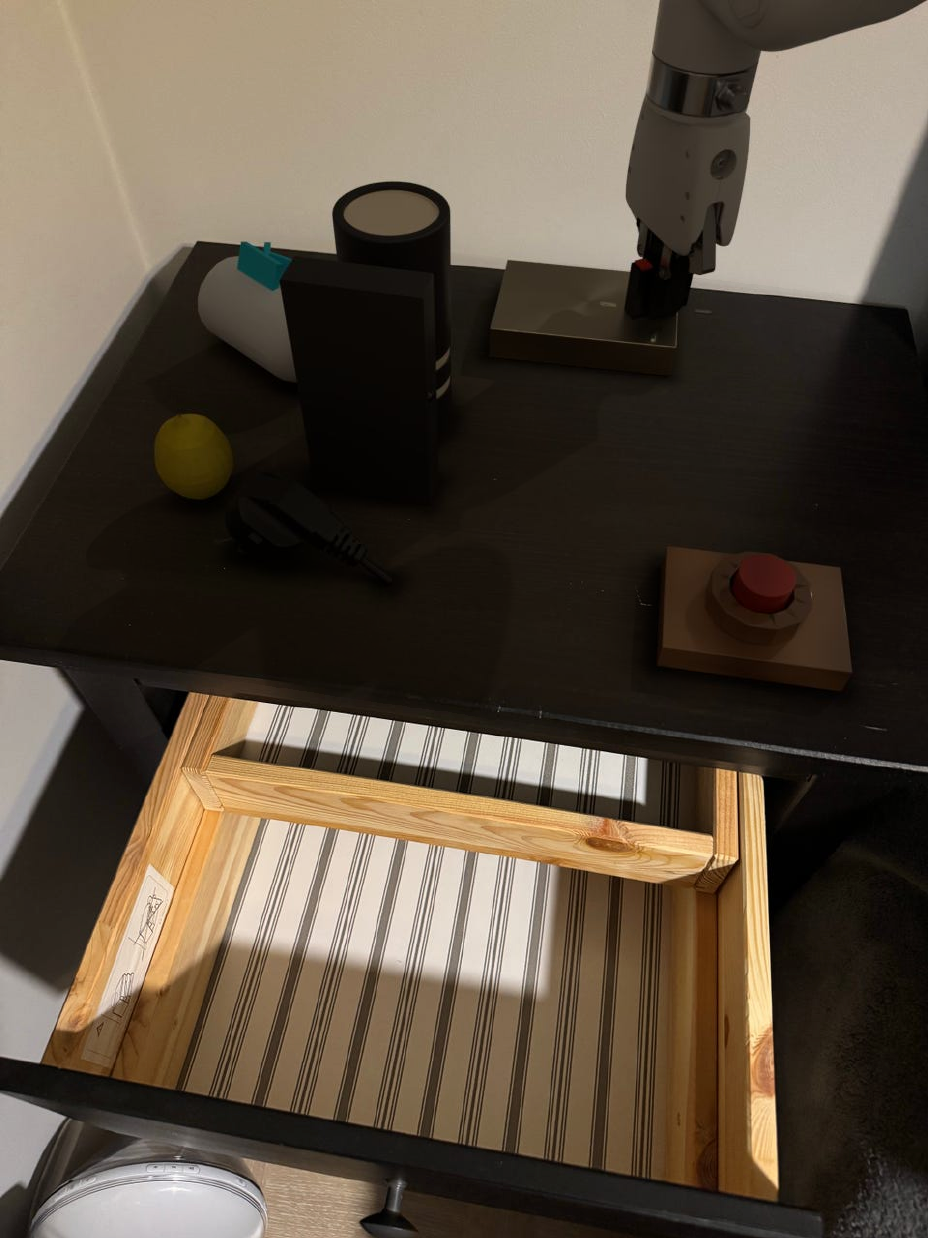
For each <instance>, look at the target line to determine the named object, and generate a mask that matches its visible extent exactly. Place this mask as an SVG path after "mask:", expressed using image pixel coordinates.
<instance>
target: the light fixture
mask: <svg viewBox="0 0 928 1238" xmlns="http://www.w3.org/2000/svg"><path fill="white" fill-rule="evenodd" d="M331 217H332V218H331V219H332V226H333V235H334V244H335V253H336V254H335V255H336V260H332V259H331V260H330V259H324V258H323V259H322V258H317V257H316V258H314V257H307V256H299V255H293V257H292V258H291V259H292V260H291V262H290V264H289V265H288V267H287V269H286V270H285V272H284V274H283V275H282V277H281V279H280V280H279V282H280V288H281V294H282V299H283V305H284V311H285V317H286V323H287V328H288V334H289V340H290V346H291V352H292V358H293V363H294V369H295V375H296V381H297V382H296V386H297V392H298V398H299V404H300V409H301V413H302V414H301V415H302V423H303V426H304V433H305V438H306V444H307V450H308V451H307V452H308V456H309V462H310V468H311V474H312V479H313V485H314V488H316V489H322V490H327V491H334V492H341V493H348V494H353V495H360V496H365V497H366V496H367V497H373V498H379V499H385V500H392V501H397V502H403V503H410V504H417V505H424V506H429V507H430V506H431V503H432V500H433V498H434V494H435V491H436V488H437V485H438V482H439V449H438V438H439V437H441V436H442V435H443V434H444V433H445V432H446V431H447V429H448V428H449V427H450V424H451V422H452V416H453V414H452V413H453V411H452V409H453V408H452V406H453V405H452V402H453V401H452V397H453V396H452V247H451V243H452V237H451V236H452V235H451V231H452V230H451V229H452V228H451V226H452V225H451V224H452V223H451V221H452V220H451V218H452V217H451V207H450V203H449V202H448V201H447V199H446V198H445V196H443V195H442V194H440V193H439V192H438V191H436V190H435V189H432V188H431V187H428V186H426V185H422V184H419V183H415V182H409V181H400V180H399V181H398V180H394V181H393V180H392V181H391V180H390V181H389V180H388V181H387V180H386V181H377V182H372V183H367V184H364V185H360V186H358V187H355V188H353V189H351V190H349V191H347V192H346V193H344V194H342V196H340V197H339V198H338V199H337V201H336V202H335V203H334V205H333V208H332V210H331Z"/></svg>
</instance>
